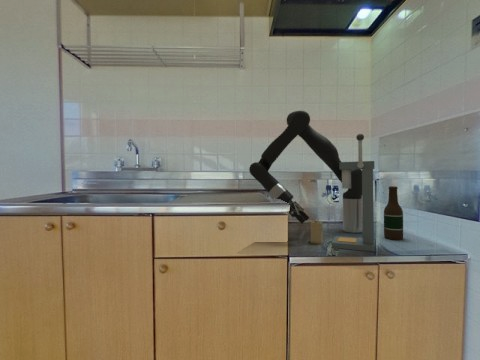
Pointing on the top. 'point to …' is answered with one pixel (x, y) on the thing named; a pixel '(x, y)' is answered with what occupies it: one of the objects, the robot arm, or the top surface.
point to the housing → (316, 232)
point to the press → (367, 203)
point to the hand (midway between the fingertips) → (305, 220)
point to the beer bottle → (393, 217)
